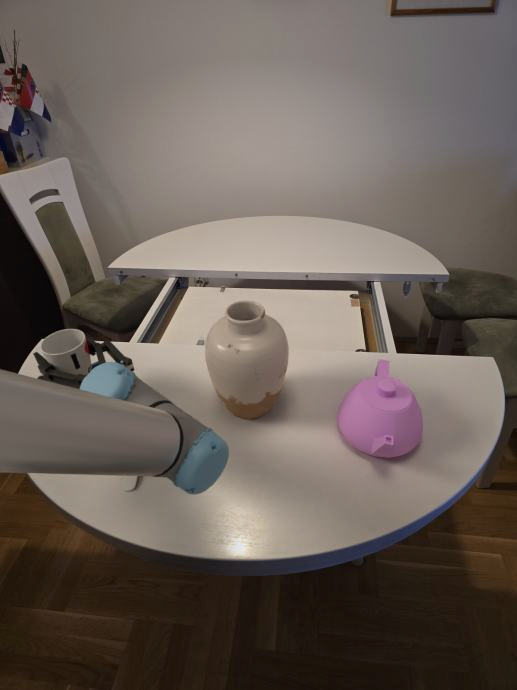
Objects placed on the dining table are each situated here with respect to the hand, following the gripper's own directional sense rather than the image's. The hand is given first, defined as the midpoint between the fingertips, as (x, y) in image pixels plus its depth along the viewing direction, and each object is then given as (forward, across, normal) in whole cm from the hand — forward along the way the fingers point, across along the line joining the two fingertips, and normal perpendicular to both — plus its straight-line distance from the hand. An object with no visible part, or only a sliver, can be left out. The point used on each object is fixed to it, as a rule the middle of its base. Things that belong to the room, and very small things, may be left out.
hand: (57, 347), depth 82 cm
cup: (-5, 0, -6) cm, 8 cm away
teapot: (-57, +31, -12) cm, 66 cm away
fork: (-24, +1, -12) cm, 27 cm away
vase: (-33, +21, -12) cm, 41 cm away
